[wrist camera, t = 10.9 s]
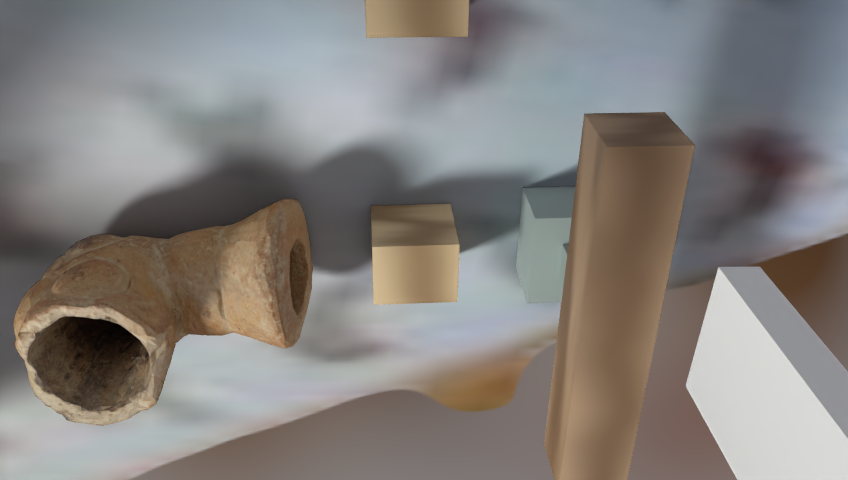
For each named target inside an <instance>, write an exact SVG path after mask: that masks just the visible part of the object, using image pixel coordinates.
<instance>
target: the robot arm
mask: <svg viewBox="0 0 848 480" xmlns="http://www.w3.org/2000/svg"><path fill="white" fill-rule="evenodd" d="M686 387H687V389H688V391H689V393H690V395H691V396H692V398H693V400H694V402H695V404H696V405H697V407H698V409H699V411H700V412H701V415H702V416H703V418H704V420H705V422H706V424H707V425H708V427H709V429H710V431H711V433H712V434H713V436H714V438H715V440H716V442H717V444H718V445H719V447H720V449H721V451H722V452H723V454H724V456H725V458H726V460H727V462H728V463H729V465H730V467H731V469H732V471H733V472H734V474H735V476H736V478H737V480H848V372H847V370H846V369H845V368H844V367H843V366H842V365H841V363H840V362H839V361H838V360H837V359H836V357H835V356H834V355H833V354H832V352H830V350H829V349H828V348H827V347H826V345H825V344H824V343H823V342H822V341H821V340H820V338H819V337H818V336H817V335H816V333H815V332H814V331H813V330H812V329H811V327H810V326H809V325H808V324H807V323H806V321H805V320H804V319H803V318H802V317H801V315H800V314H799V313H798V312H797V311H796V310H795V308H794V307H793V306H792V305H791V304H790V302H789V301H788V300H787V299H786V298H785V296H784V295H783V294H782V293H781V292H780V290H779V289H778V288H777V287H776V286H775V284H774V283H773V282H772V281H771V280H770V278H769V277H768V276H767V275H766V274H765V273H764V271H763V270H762V269H761V268H760V267H718V271H717V274H716V278H715V281H714V285H713V289H712V292H711V296H710V300H709V303H708V307H707V311H706V314H705V318H704V321H703V325H702V329H701V333H700V336H699V340H698V343H697V347H696V350H695V354H694V358H693V361H692V365H691V369H690V373H689V376H688V379H687V383H686Z"/></svg>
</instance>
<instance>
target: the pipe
mask: <svg viewBox="0 0 848 480" xmlns="http://www.w3.org/2000/svg"><path fill="white" fill-rule="evenodd" d="M312 270H313V267H312V263H311V246H310V240H309V234H308V229H307V223H306V219H305V214H304V212H303V209H302V207H301V205H300V203H299V202H298V201H297V200H296V199H282V200H280V201H278V202H276V203H273V204H270V205H268V206H266V207H264V208H262V209H260V210H259V211H257V212H255V213H254V214H252V215H250V216H249V217H247V218H245V219H243V220H241V221H239V222H237V223H235V224H231V225H227V226H213V227H208V228H204V229H199V230H194V231H189V232H185V233H181V234H178V235H176V236H173V237H171V238H169V239H164V238H152V237H144V236H136V235H134V236H128V237H124V238H122V237H119V236H115V235H111V234H101V235H94V236H90V237H87V238H85V239H82V240H80V241H78V242H76V243H75V244H74V245H73V246H71V247H70V248H69V249H68V250H67V252H66V254H65V255H61V256H60V257H58V258H57V259H56V260H55V261H54V263H53V264H52V265H51V266H50V267H49V268H48V269H47V270H46V272H45V274H44V275H43V277H42V279H41V280H39V281H38V282H37V283H36V284H35V285H33V286H32V287H31V288H30V289H29V290H28V291H27V292H26V294H25V295H24V297H23V299H22V301H21V303H20V305H19V307H18V309H17V311H16V314H15V318H14V322H13V325H14V333H15V336H16V341H15V344H14V345H15V347H16V349H17V351H18V353H19V354H20V356H21V357H22V358H23V359H24V360H25V365H26V367H27V370H28V378H29V381H30V384H31V387H32V389H33V392H34V394H35V396H36V397H38V398H39V399H40V400H41V401H42V402H43V403H44V404H45V405H46V406H48V407H51V408H52V409H53V410H55V411H56V412H57V413H59V414H62V415H63V416H64V417H65V418H66V420H68V421H72V422H78V423H86V424H93V425H102V426H103V425H107V424H112V423H116V422H119V421H123V420H126V419H129V418H130V417H132V416H133V415H135V414H137V413H139V412H140V411H142V410H147V409H149V408H151V407H152V406H154V405H155V404H156V403H157V401H158V398H159V396H160V394H161V391H162V387H163V384H164V381H165V377H166V374H167V371H168V368H169V365H170V363H171V359H172V355H173V351H174V348H175V343H176V342H178V341H179V340H180V339H181V338H182V337H184V336H186V335H188V334H196V335H225V334H229V333H232V332H235V333H238V334H241V335H244V336H248V337H251V338H254V339H256V340H259V341H262V342H265V343H268V344H271V345H275V346H278V347H281V348H289V347H292V346H293V345H294V344H295V343H296V342H297V340H298V339H299V337H300V333H301V330H302V326H303V323H304V319H305V316H306V312H307V308H308V304H309V299H310V294H311V289H312Z"/></svg>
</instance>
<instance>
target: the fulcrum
mask: <svg viewBox="0 0 848 480" xmlns="http://www.w3.org/2000/svg"><path fill="white" fill-rule="evenodd" d="M575 187H576V186H572V187H530V188H523V190H522V202H521V214H520V226H519V238H518V250H517V262H516V270H517V273H518V276H519V280H520V283H521V286H522V289H523V292H524V295H525V298H526V301H527V303H550V302H562V293H563V285H564V277H565V269H566V261H567V252H568V244H569V236H570V228H571V220H572V211H573V203H574V195H575Z"/></svg>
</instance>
